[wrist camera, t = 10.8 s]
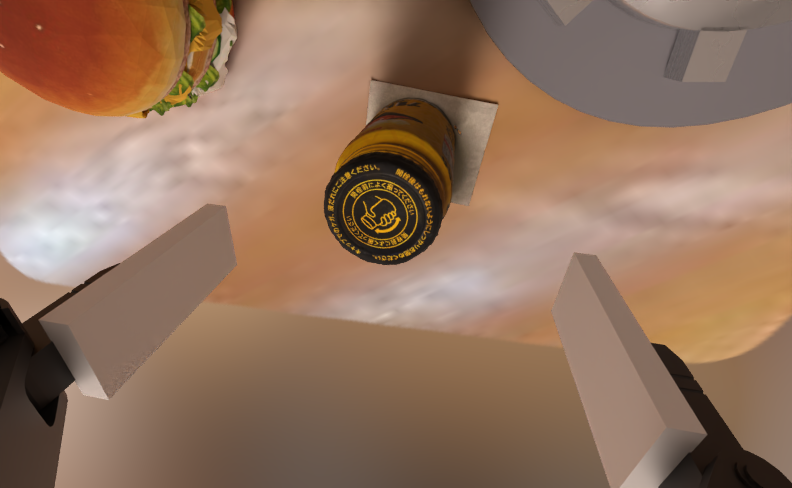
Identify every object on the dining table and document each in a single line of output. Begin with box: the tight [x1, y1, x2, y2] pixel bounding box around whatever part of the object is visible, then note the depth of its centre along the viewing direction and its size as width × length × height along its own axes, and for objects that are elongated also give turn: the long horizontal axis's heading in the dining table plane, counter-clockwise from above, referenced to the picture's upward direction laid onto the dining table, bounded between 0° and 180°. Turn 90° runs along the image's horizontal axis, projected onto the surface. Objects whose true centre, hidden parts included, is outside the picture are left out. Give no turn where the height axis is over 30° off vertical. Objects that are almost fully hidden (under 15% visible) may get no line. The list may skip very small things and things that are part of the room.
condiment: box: [324, 80, 498, 265], centre depth 20 cm, size 7×8×12 cm
